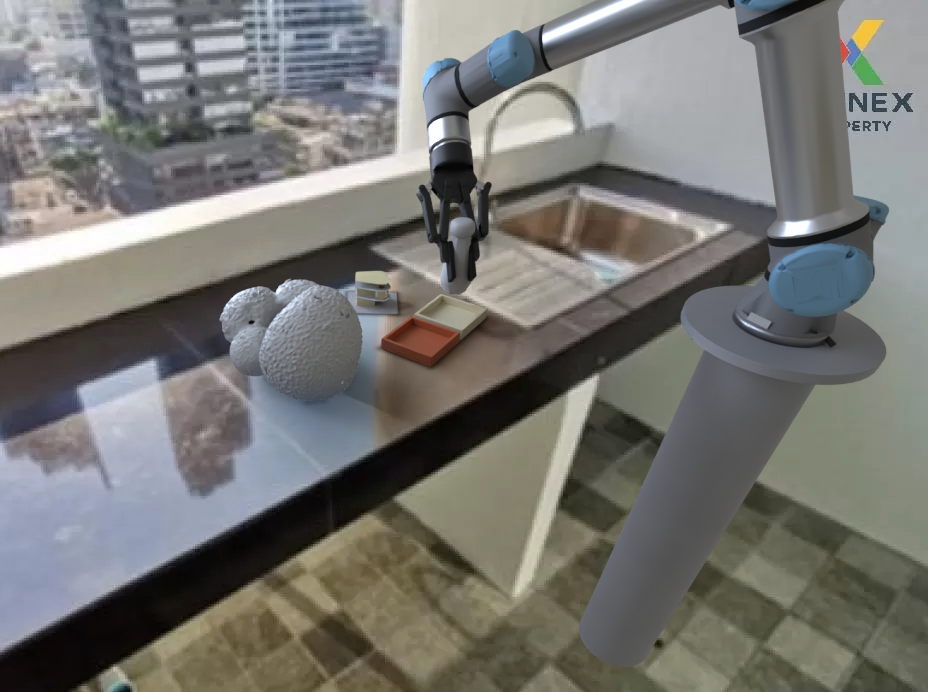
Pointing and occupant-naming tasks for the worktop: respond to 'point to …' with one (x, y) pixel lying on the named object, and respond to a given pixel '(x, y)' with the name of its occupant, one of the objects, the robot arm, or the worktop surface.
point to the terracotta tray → (420, 340)
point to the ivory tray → (453, 314)
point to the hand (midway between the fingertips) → (462, 279)
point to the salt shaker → (459, 255)
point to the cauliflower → (295, 338)
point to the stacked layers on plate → (373, 293)
